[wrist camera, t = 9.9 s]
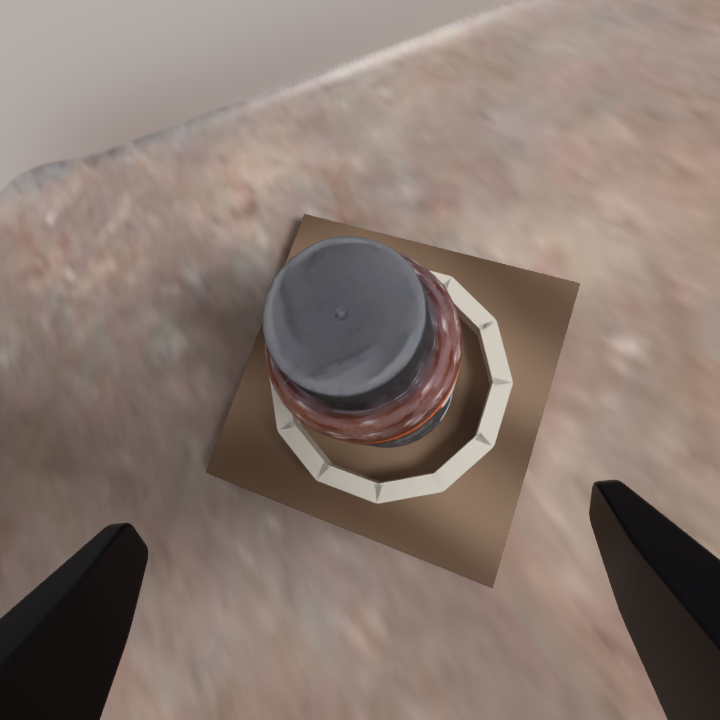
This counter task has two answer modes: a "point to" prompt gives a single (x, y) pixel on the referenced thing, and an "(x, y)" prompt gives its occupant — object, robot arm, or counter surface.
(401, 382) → the supplement bottle
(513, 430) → the board
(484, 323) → the collar
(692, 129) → the counter surface
